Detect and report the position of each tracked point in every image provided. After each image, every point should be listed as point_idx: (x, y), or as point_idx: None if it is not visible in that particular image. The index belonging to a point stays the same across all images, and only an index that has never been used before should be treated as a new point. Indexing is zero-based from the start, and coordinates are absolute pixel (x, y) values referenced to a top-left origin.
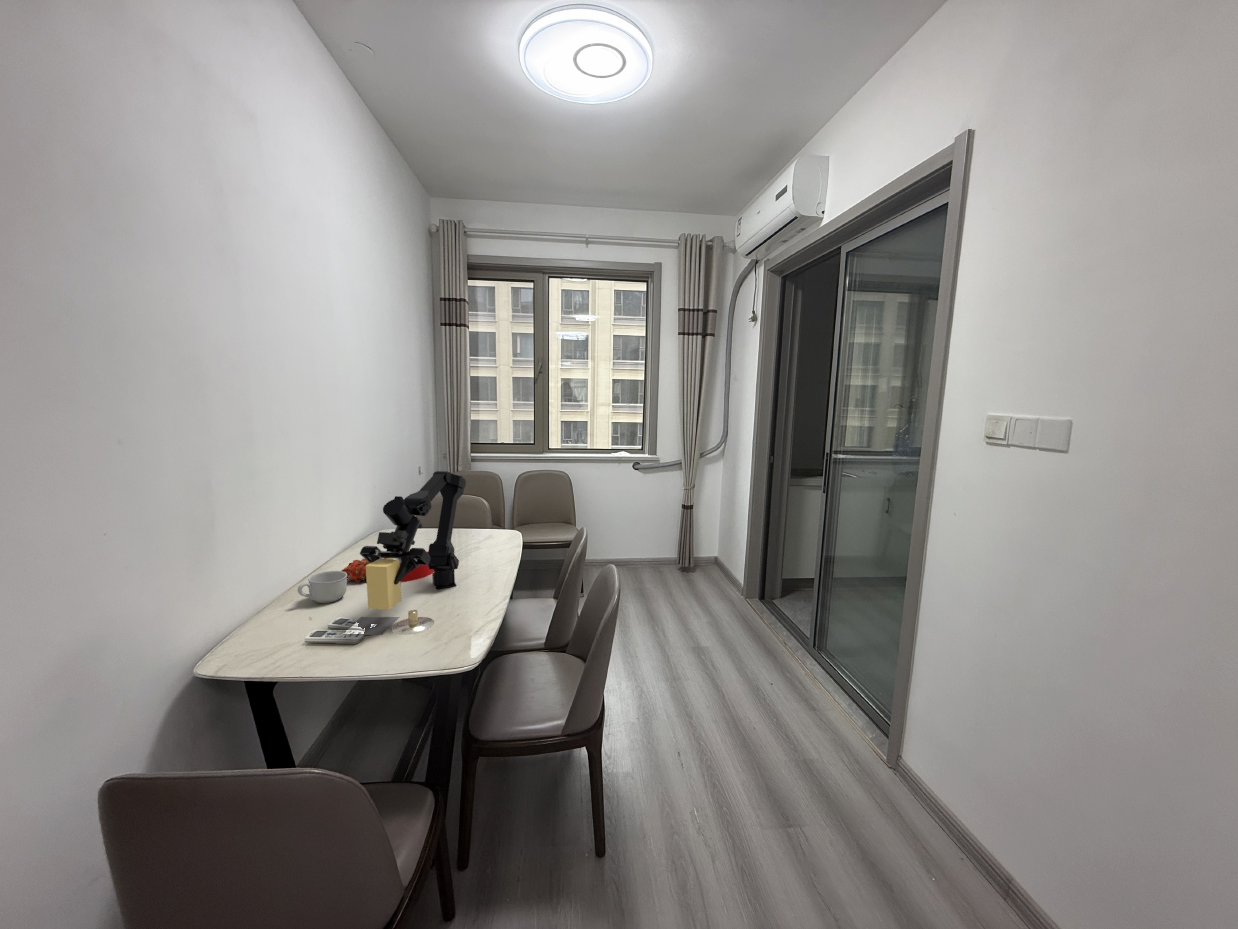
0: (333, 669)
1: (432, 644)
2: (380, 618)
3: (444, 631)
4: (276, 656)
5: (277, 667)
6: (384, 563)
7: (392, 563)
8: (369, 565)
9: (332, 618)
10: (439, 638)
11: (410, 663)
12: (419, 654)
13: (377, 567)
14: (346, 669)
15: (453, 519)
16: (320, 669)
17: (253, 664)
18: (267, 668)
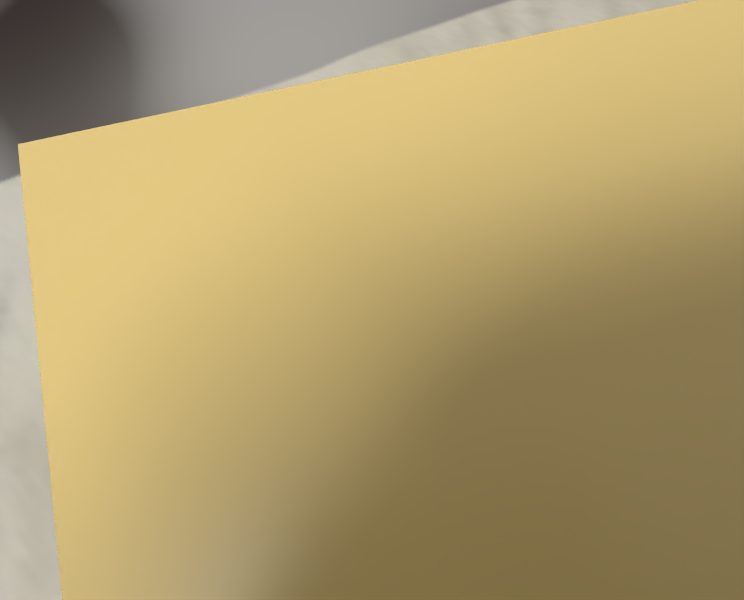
0: (294, 79)
1: (19, 394)
2: None
3: (43, 553)
4: None
5: (501, 24)
6: (442, 423)
7: (73, 589)
8: (718, 49)
9: None
10: (21, 466)
11: (15, 216)
12: (24, 290)
13: (385, 97)
14: (246, 95)
15: None
16: (341, 64)
17: (599, 9)
18: (525, 9)
